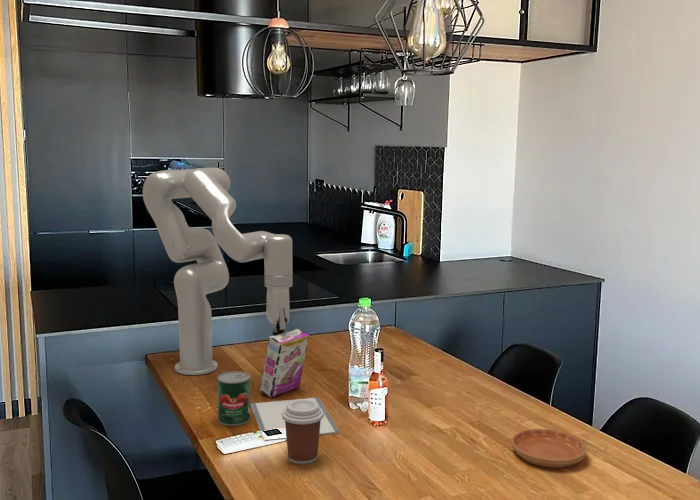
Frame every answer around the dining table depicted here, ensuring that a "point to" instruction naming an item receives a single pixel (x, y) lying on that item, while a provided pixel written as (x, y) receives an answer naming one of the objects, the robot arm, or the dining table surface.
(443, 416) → the dining table surface
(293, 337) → the candy bar box
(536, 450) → the saucer
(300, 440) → the coffee cup
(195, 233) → the robot arm
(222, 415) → the canned tomato
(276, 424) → the mat
